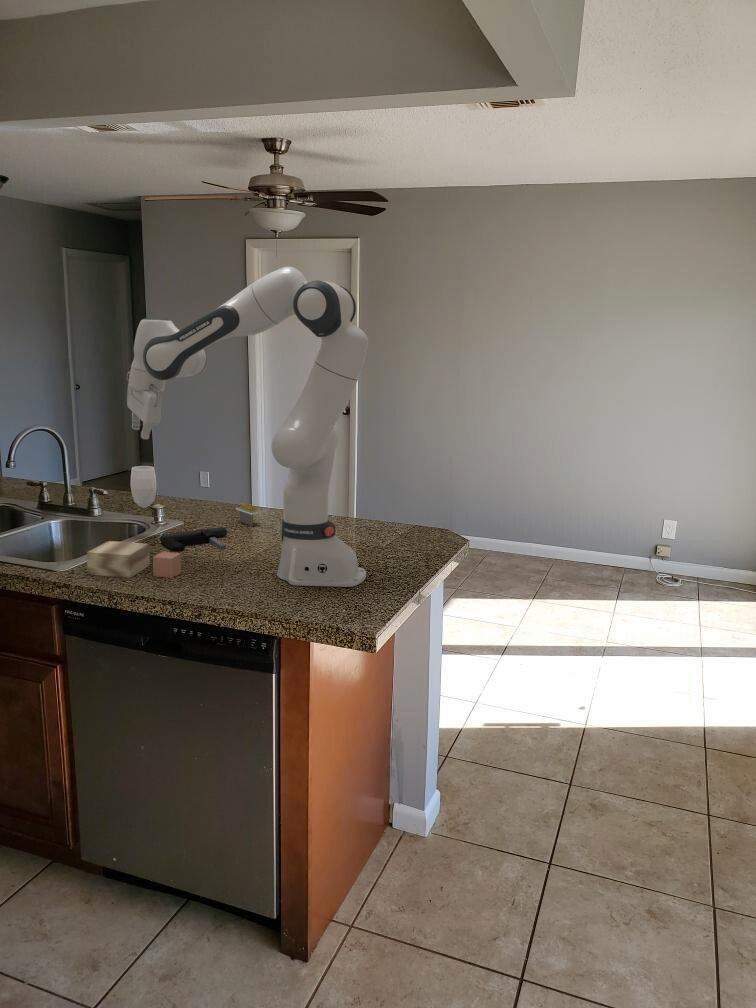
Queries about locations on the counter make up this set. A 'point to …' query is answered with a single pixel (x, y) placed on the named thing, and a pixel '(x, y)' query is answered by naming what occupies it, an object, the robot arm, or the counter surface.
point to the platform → (247, 513)
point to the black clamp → (194, 538)
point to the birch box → (118, 559)
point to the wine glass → (143, 485)
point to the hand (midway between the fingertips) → (139, 433)
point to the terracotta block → (167, 564)
